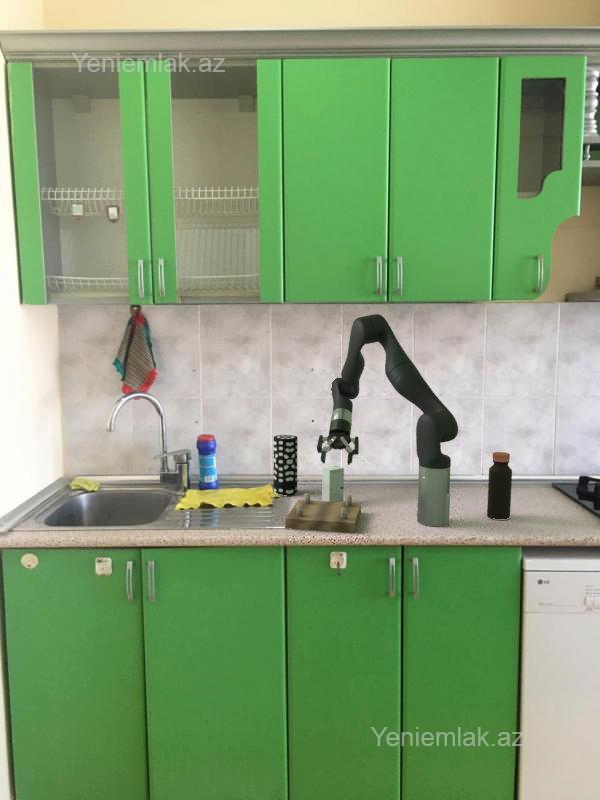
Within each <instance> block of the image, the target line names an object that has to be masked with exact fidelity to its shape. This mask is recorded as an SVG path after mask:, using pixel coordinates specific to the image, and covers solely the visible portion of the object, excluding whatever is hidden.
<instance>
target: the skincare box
mask: <svg viewBox="0 0 600 800" xmlns="http://www.w3.org/2000/svg"><path fill="white" fill-rule="evenodd" d="M344 485H345V468H344V467H341V466H338V465H335V466H326V467H322V485H321V486H322V487H321V488H322V490H321V491H322V492H321V495H322V496H321V498H322V499H321V501H332V502H344V495H345V493H344V489H345V488H344Z"/></svg>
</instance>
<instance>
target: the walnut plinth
mask: <svg viewBox="0 0 600 800" xmlns="http://www.w3.org/2000/svg"><path fill="white" fill-rule="evenodd" d="M361 513H362V503H361V502H353V496H352V495H346V496H345V502H344V501H343V502H332V501H322V500H311V493H309V492H305V493H304V499H297V501H296V503H295V504H294V506H293V507H292V508H291V510H290V511H289V513H288V514H287V516H286V517H285V518H284V519H285V521H284V522H285V524H284V526H285V527H284V528H285V529H286V528H292V529H291V530H300V529H302V531H305V530H306V531H316V532H318V531H319V532H331V533H344V534H345V533H348V534H355V533H356V530H357V528H358V524H357V523H359V519H360V517H361Z"/></svg>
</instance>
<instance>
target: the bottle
mask: <svg viewBox="0 0 600 800" xmlns="http://www.w3.org/2000/svg"><path fill="white" fill-rule="evenodd" d="M510 455H511V454H510V453H509V452H504V451H495V452H493V453H492V463H493V464H492V465H491V466H490V467H489V469H488V488H487V507H486V510H487V511H486V517H488V518H489V517H491V518H495V519H507V518H509V517H510V518H511V506H512V505H511V503H512V484H513V483H512V482H513V481H512V479H513V469H512V468H511V467H510V466H509V463H510V459H511V458H510V457H511V456H510ZM491 518H490V519H491ZM510 518H509V519H510ZM495 519H494V520H495Z"/></svg>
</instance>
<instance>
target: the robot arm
mask: <svg viewBox="0 0 600 800" xmlns="http://www.w3.org/2000/svg"><path fill="white" fill-rule="evenodd" d="M374 343H379V344H380V345H381V346H382V348H383V350H384V351H385V364H384V371H385V373H384V374H385V375H386V378H387V379H388V381H389V383H390V384H391V386H392V387H393V388H394V390H395V391H396V392H397V394H399V395H400V396H402V397H403V398H404V399H406V400H407V401H408V402H410V403H412V404H413V405H414V406H416V407H417V408H418V409H419V410H420V411H421V412H422V413H423V414H421V415H420V416H419V418H418V419H417V423H416V428H415V429H416V430H415V432H416V433H415V435H416V436H415V438H416V446H415V447H416V456H417V458H418V480H417V481H418V482H417V483H418V484H417V485H418V486H417V487H418V488H417V511H416V518H417V520H416V522H418V523H419V524H421V525H423V524H424V525H423V526H427V527H428V526H429V527H444V526H447V525H449V526H450V512H451V511H450V509H451V508H450V507H451V502H450V501H451V493H450V491H451V488H450V487H451V466H452V465H451V462H452V461H451V457H450V456H449V455H447V454H445V453H442V450H441V449H442V448H441V447H442V445H441V443H448V442H450V441H453V440H456V438H457V437H458V433H459V426H458V421H457V419H456V417H455V415H453V413H452V412H451V411H450V409H448V407H447V406H446V405H445V404H444V403H443V401H442V400H440V398H439V397H438V396H437V395H436V393H435V392H434V391H433V390H432V388H431V387H430V386H429V384H428V383H427V382H426V380H425V379H424V377H423V376H422V374H421V373H420V371H419V370H418V368H417V367H416V365H415V364H414V362H413V361H412V360H411V358H410V357H409V356H408V355H407V354H408V353H406V351H405V350H404V349H403V347H402V345H401V343H400V342H399V340H398V339H397V337H396V336H395V334H394V331H393V330H392V327H391V326H390V325H389V323H388V320H386V318H385V317H384V316H383V315H382V314H378V313H375V314H369V315H368V314H367V315H364V316H360V317H357V318H355V319H354V321H353V322H352V324H351V329H350V334H349V341H348V347H347V348H348V349H347V354H346V359H345V362H344V363H343V366H342V370H341V372H340V377H339V378H338V377H336V379H335V378H334V379H335V380H334V379H333V380H334V381H333V380H332V381H333V382H331V384H332V388H331V387H330V392H331V391H332V393H331V396H332V401H333V402H332V403H333V406H332V413H331V417H330V420H329V421H330V422H329V429H328V435H327V436H323V434H320V435H319V436H318V440H317V445H316V451H317V453H318V454H321V455H320V462H321V463H322V464H326V459H327V453H329V452H330V451H332V450H340V451H342V450H345V451H346V453H347V454H348V455H347V462H346V463H347V465H348V466H350V465H351V464H352V463H353V457H354V455H356V456H358V455H359V451H360V450H359V449H360V446H359V445H360V440H359V438H360V437H359V436H355V437H351V434H352V433H351V432H352V425H353V407H354V404H353V401H352V400H355V399H356V398H358V396H359V394H360V379H361V377H362V374H363V372H364V369H365V365H366V361H365V357H364V355H363V354H362V353H363V352H361V351H362V349H363V347H364V346H365V345H369V344H374ZM325 442H327V443H325ZM351 443H352V444H353V445H354V448H353V449H352V447H351V446H350V444H351ZM323 444H325V445H324V446H323Z"/></svg>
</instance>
